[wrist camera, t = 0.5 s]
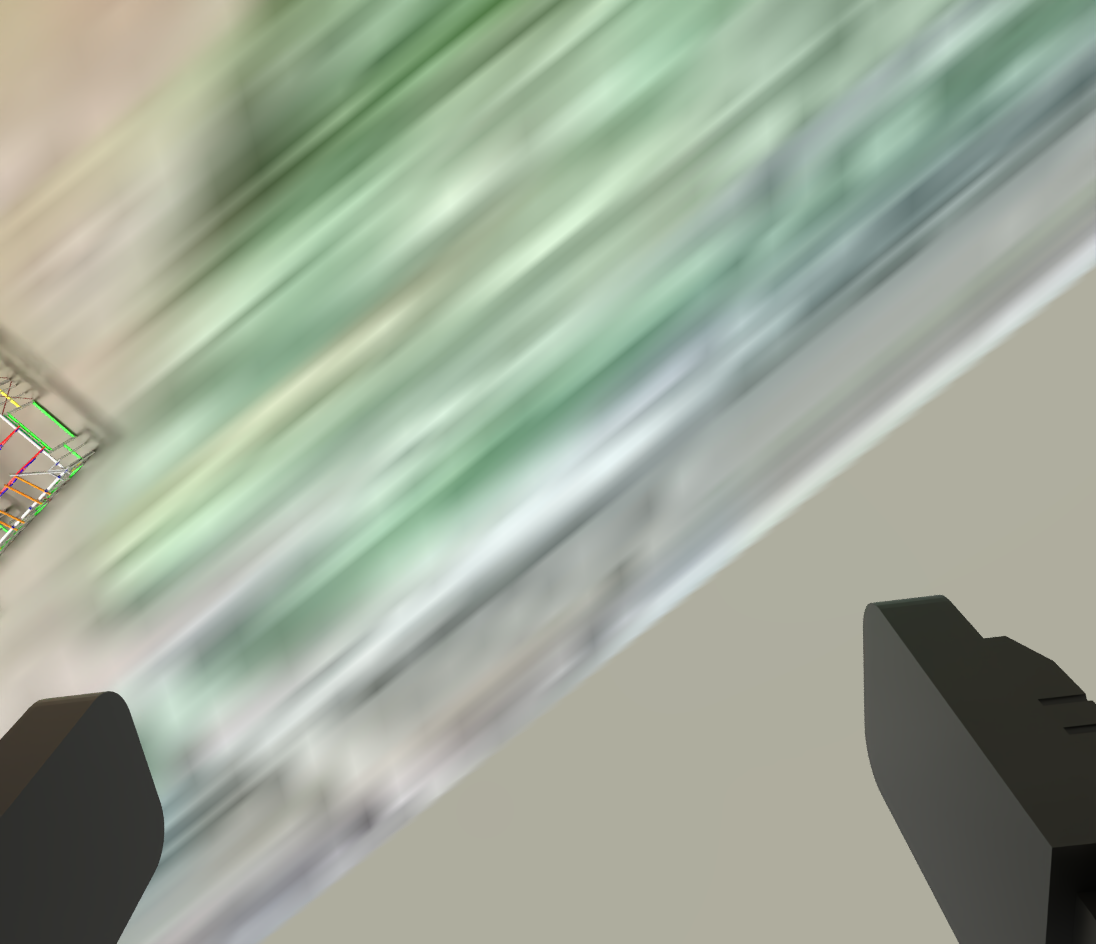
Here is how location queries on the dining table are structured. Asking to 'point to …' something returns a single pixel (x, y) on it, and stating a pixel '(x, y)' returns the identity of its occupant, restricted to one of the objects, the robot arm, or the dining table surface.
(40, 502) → the roof frame
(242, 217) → the dining table surface
